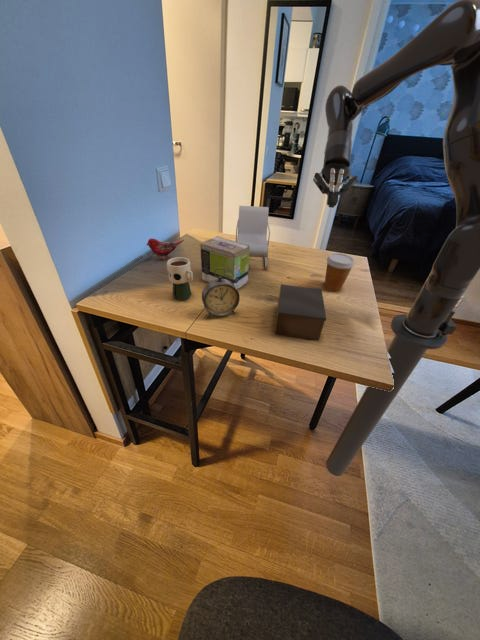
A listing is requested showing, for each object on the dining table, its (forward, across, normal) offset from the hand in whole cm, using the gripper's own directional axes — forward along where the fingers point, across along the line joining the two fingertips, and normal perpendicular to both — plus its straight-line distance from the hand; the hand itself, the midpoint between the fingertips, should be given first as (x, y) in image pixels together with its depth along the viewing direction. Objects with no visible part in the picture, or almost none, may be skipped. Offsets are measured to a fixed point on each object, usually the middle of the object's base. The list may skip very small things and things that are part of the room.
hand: (331, 206), depth 76 cm
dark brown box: (+35, -5, +8) cm, 36 cm away
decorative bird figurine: (+10, -60, +33) cm, 69 cm away
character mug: (+30, -44, +13) cm, 55 cm away
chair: (+4, -25, +39) cm, 46 cm away
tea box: (+20, -32, +23) cm, 44 cm away
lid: (+29, -5, +2) cm, 30 cm away
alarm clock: (+35, -29, +8) cm, 47 cm away
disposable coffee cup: (+17, +9, +26) cm, 32 cm away
